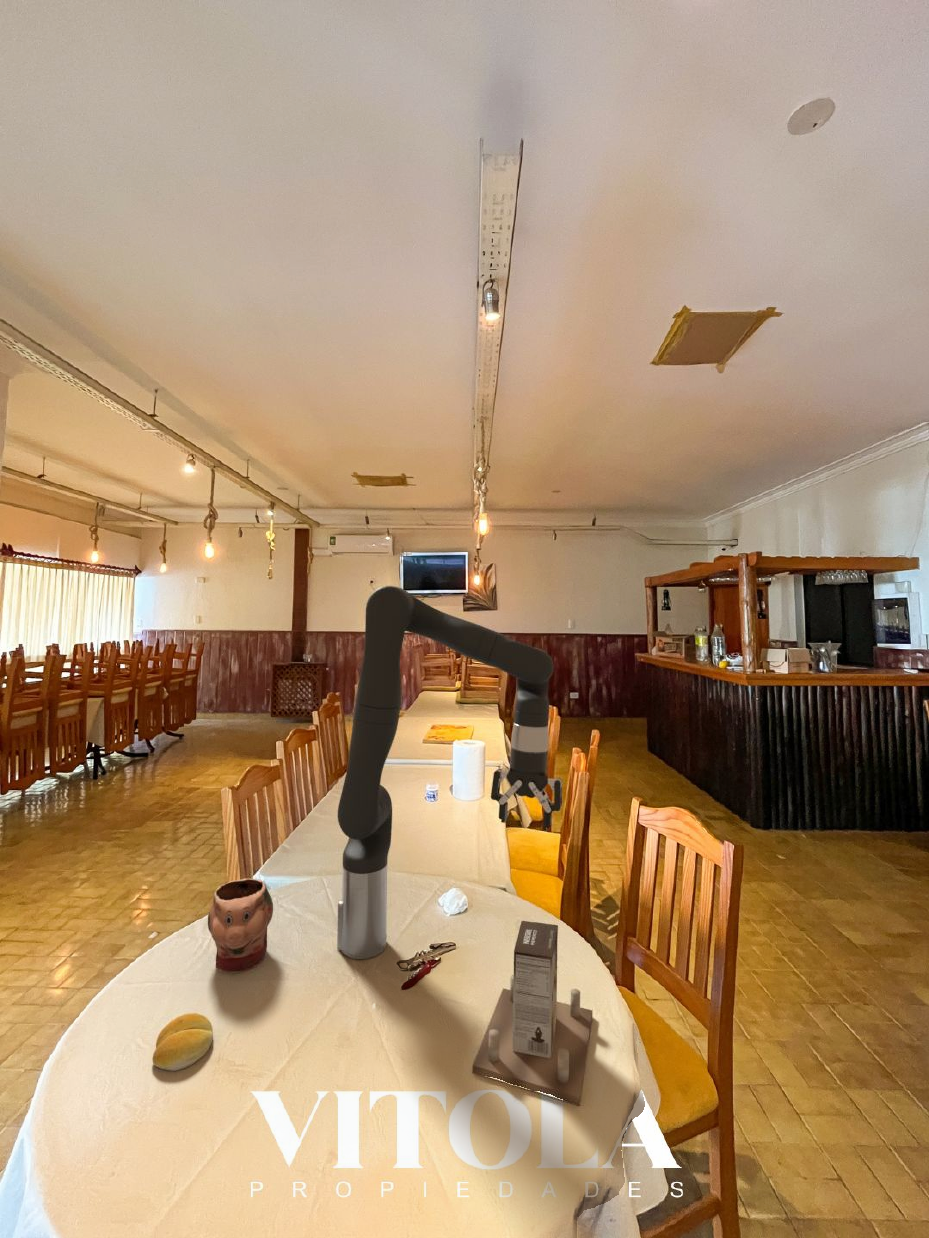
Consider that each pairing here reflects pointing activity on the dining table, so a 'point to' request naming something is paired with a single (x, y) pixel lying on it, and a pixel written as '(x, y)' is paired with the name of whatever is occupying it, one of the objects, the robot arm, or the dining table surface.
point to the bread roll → (183, 1042)
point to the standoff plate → (533, 1071)
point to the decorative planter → (240, 924)
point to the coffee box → (535, 989)
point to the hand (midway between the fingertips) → (524, 825)
